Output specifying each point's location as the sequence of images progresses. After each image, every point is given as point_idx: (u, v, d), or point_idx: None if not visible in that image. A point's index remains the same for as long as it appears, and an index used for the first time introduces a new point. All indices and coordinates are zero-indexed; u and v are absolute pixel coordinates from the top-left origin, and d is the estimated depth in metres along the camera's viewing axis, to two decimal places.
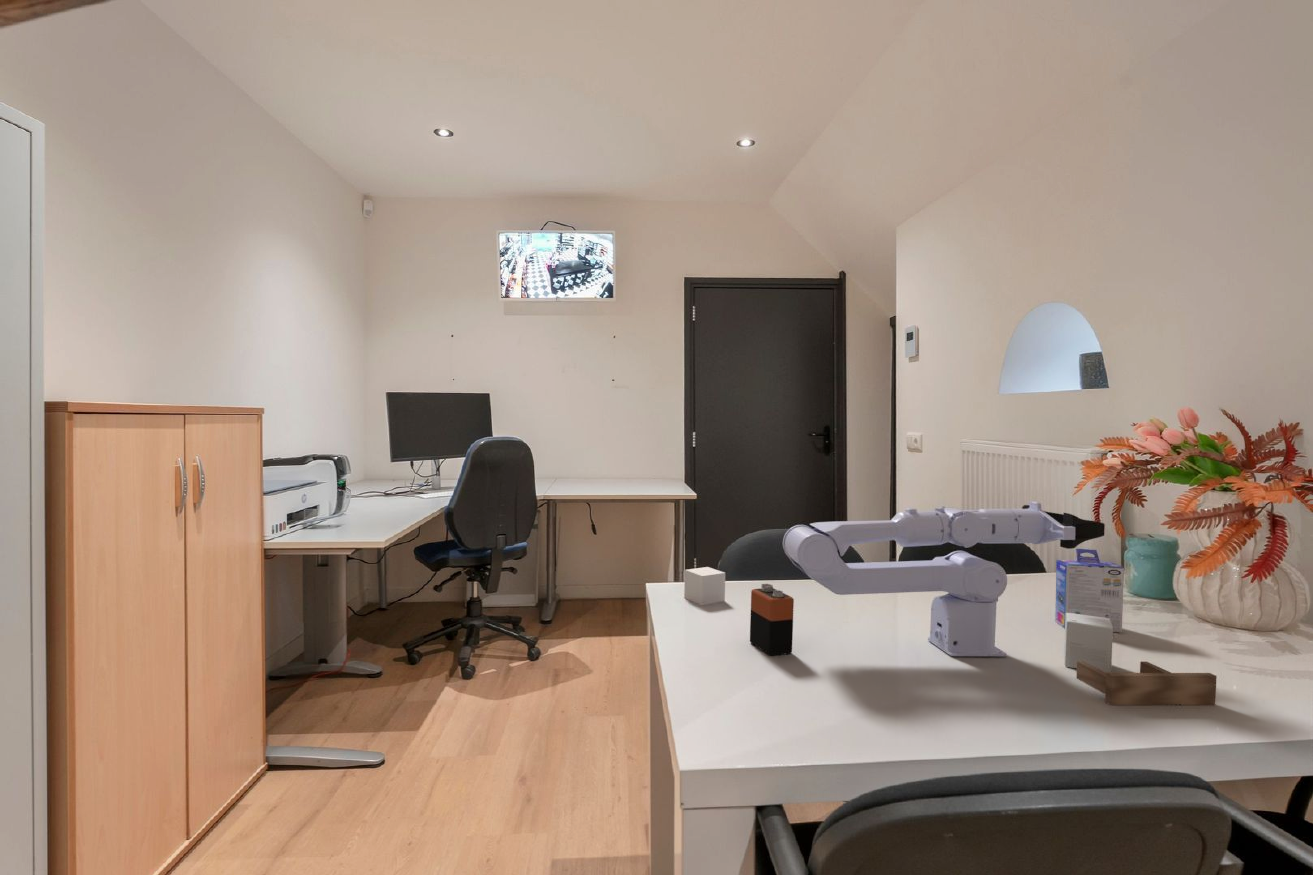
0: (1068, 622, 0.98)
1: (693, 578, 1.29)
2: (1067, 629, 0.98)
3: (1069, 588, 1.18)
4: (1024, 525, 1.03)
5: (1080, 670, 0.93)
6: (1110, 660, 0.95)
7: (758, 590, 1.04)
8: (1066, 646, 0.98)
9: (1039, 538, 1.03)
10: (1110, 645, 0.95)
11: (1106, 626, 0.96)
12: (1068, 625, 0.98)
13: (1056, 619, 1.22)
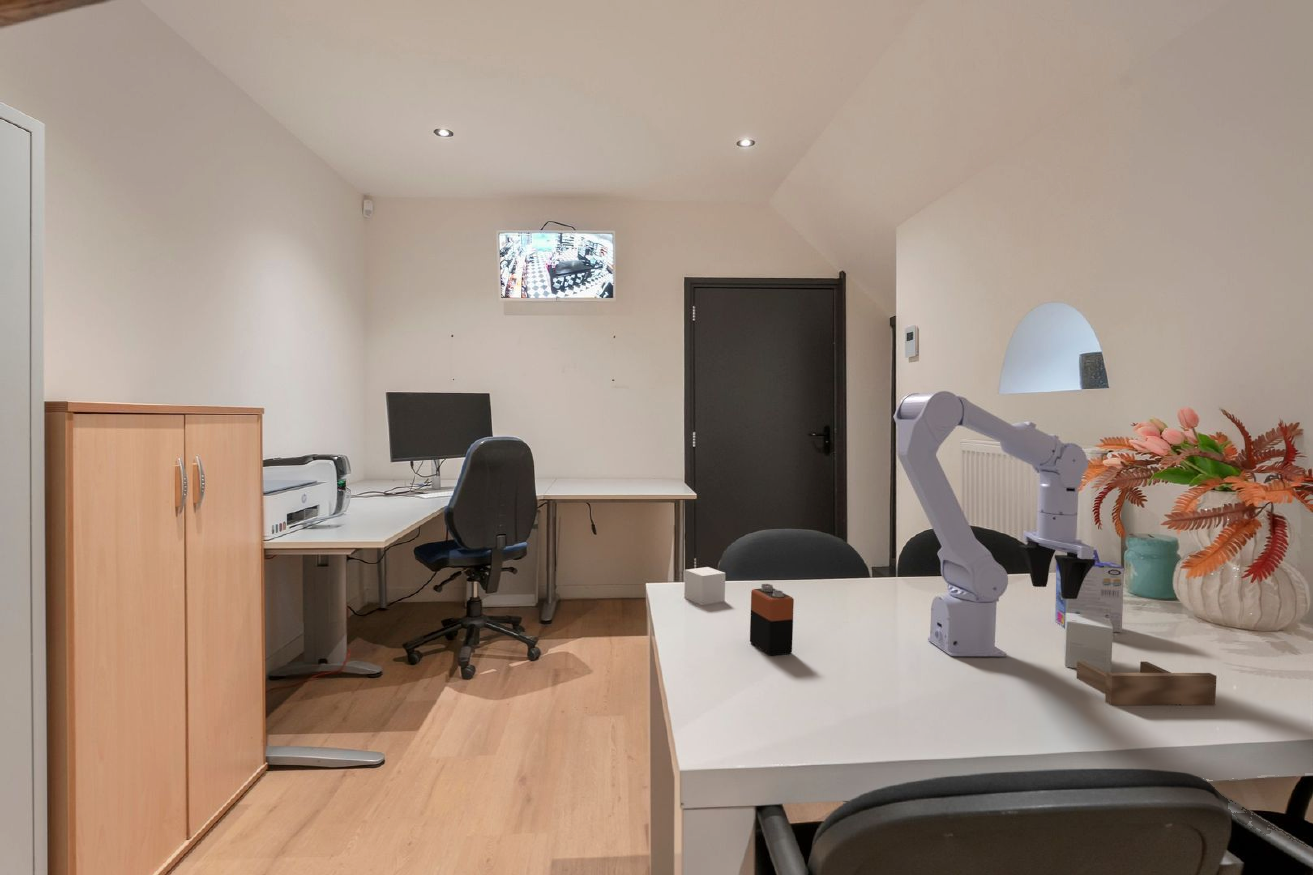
0: (1068, 622, 0.98)
1: (693, 578, 1.29)
2: (1067, 629, 0.98)
3: None
4: (1071, 521, 1.04)
5: (1080, 670, 0.93)
6: (1110, 660, 0.95)
7: (758, 590, 1.04)
8: (1066, 646, 0.98)
9: (1055, 538, 1.05)
10: (1110, 645, 0.95)
11: (1106, 626, 0.96)
12: (1068, 625, 0.98)
13: (1056, 619, 1.22)
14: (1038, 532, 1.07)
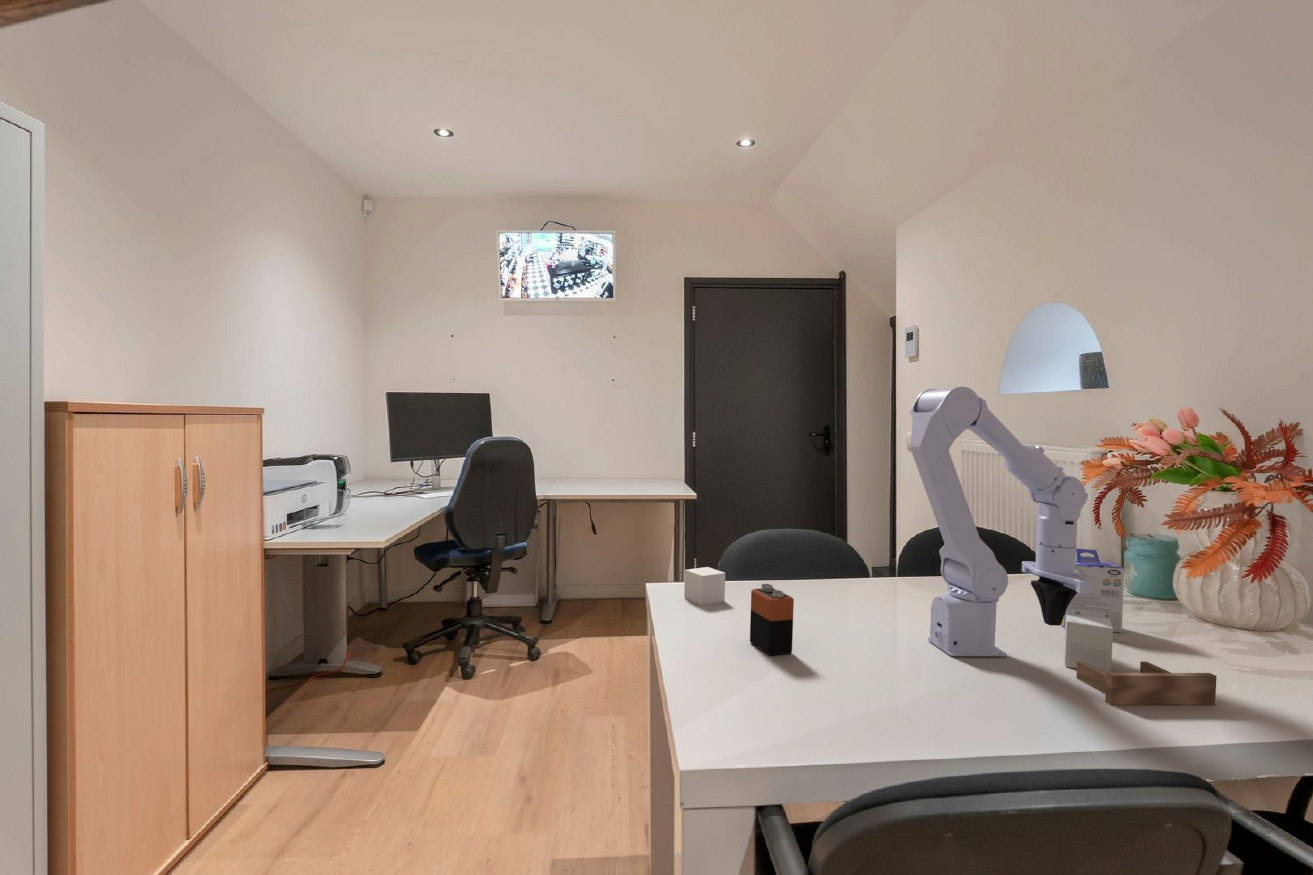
0: (1068, 622, 0.98)
1: (693, 578, 1.29)
2: (1067, 629, 0.98)
3: None
4: (1070, 554, 1.04)
5: (1080, 670, 0.93)
6: (1110, 660, 0.95)
7: (758, 590, 1.04)
8: (1066, 646, 0.98)
9: (1054, 571, 1.05)
10: (1110, 645, 0.95)
11: (1106, 626, 0.96)
12: (1068, 625, 0.98)
13: None
14: (1037, 564, 1.08)
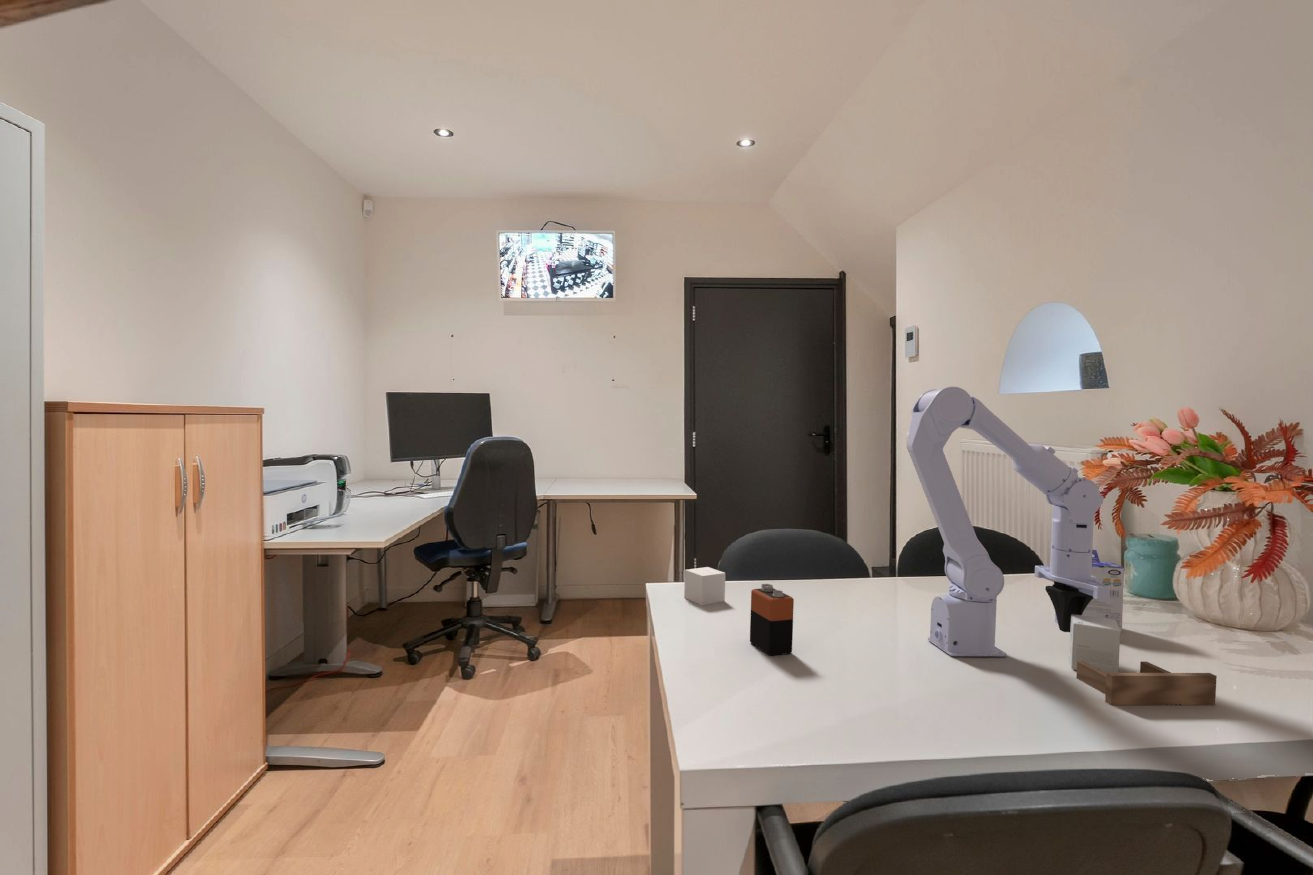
0: (1075, 624, 0.97)
1: (693, 578, 1.29)
2: (1074, 631, 0.97)
3: None
4: (1086, 558, 1.01)
5: (1080, 670, 0.93)
6: (1117, 662, 0.94)
7: (758, 590, 1.04)
8: (1073, 648, 0.97)
9: (1070, 576, 1.01)
10: (1117, 647, 0.94)
11: (1113, 628, 0.95)
12: (1075, 627, 0.97)
13: (1056, 619, 1.22)
14: (1051, 569, 1.04)
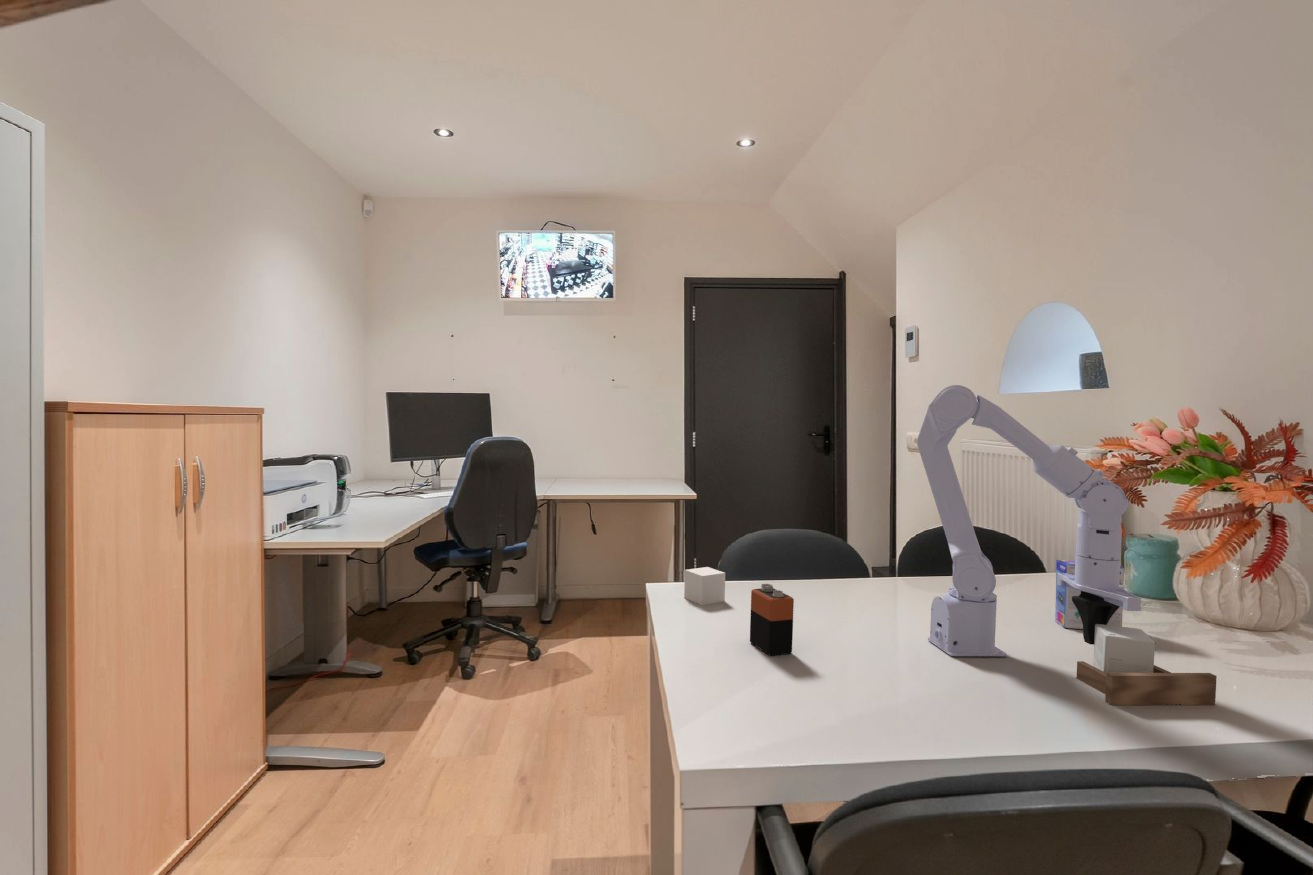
0: (1107, 636, 0.91)
1: (693, 578, 1.29)
2: (1106, 644, 0.92)
3: (1069, 588, 1.18)
4: (1114, 567, 0.95)
5: (1080, 670, 0.93)
6: None
7: (758, 590, 1.04)
8: (1105, 662, 0.92)
9: (1097, 585, 0.95)
10: (1152, 660, 0.89)
11: (1147, 639, 0.90)
12: (1107, 640, 0.91)
13: (1056, 619, 1.22)
14: (1076, 577, 0.98)
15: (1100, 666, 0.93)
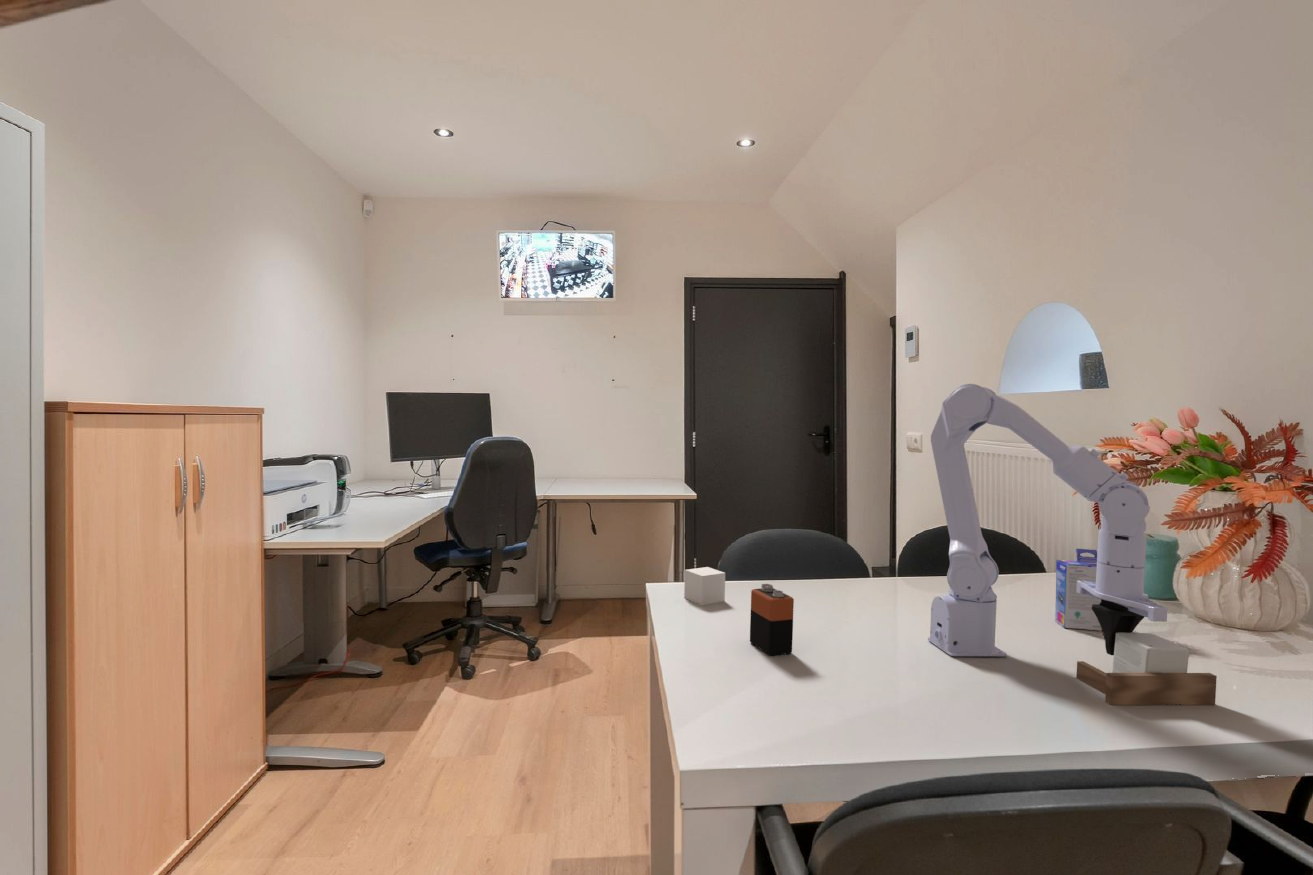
0: (1149, 649, 0.86)
1: (693, 578, 1.29)
2: (1148, 657, 0.86)
3: (1069, 588, 1.18)
4: (1139, 575, 0.91)
5: (1080, 670, 0.93)
6: None
7: (758, 590, 1.04)
8: None
9: (1120, 594, 0.91)
10: (1186, 668, 0.87)
11: (1180, 648, 0.87)
12: (1149, 653, 0.86)
13: (1056, 619, 1.22)
14: (1098, 585, 0.94)
15: None
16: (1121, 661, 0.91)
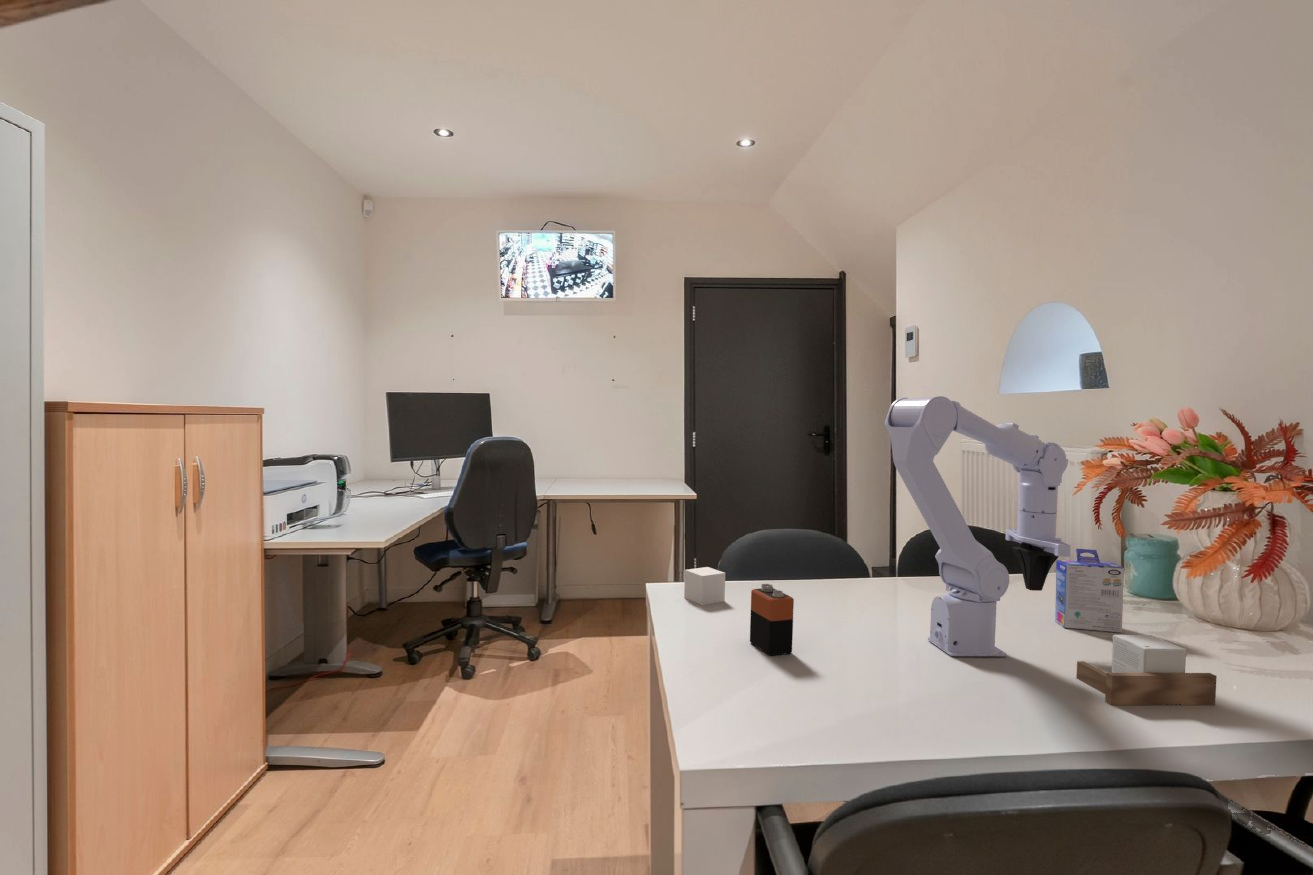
0: (1146, 650, 0.87)
1: (693, 578, 1.29)
2: (1145, 658, 0.87)
3: (1069, 588, 1.18)
4: (1050, 519, 1.06)
5: (1080, 670, 0.93)
6: None
7: (758, 590, 1.04)
8: None
9: (1034, 536, 1.06)
10: (1184, 668, 0.87)
11: (1177, 647, 0.87)
12: (1147, 653, 0.87)
13: (1056, 619, 1.22)
14: (1018, 530, 1.09)
15: None
16: (1119, 663, 0.91)
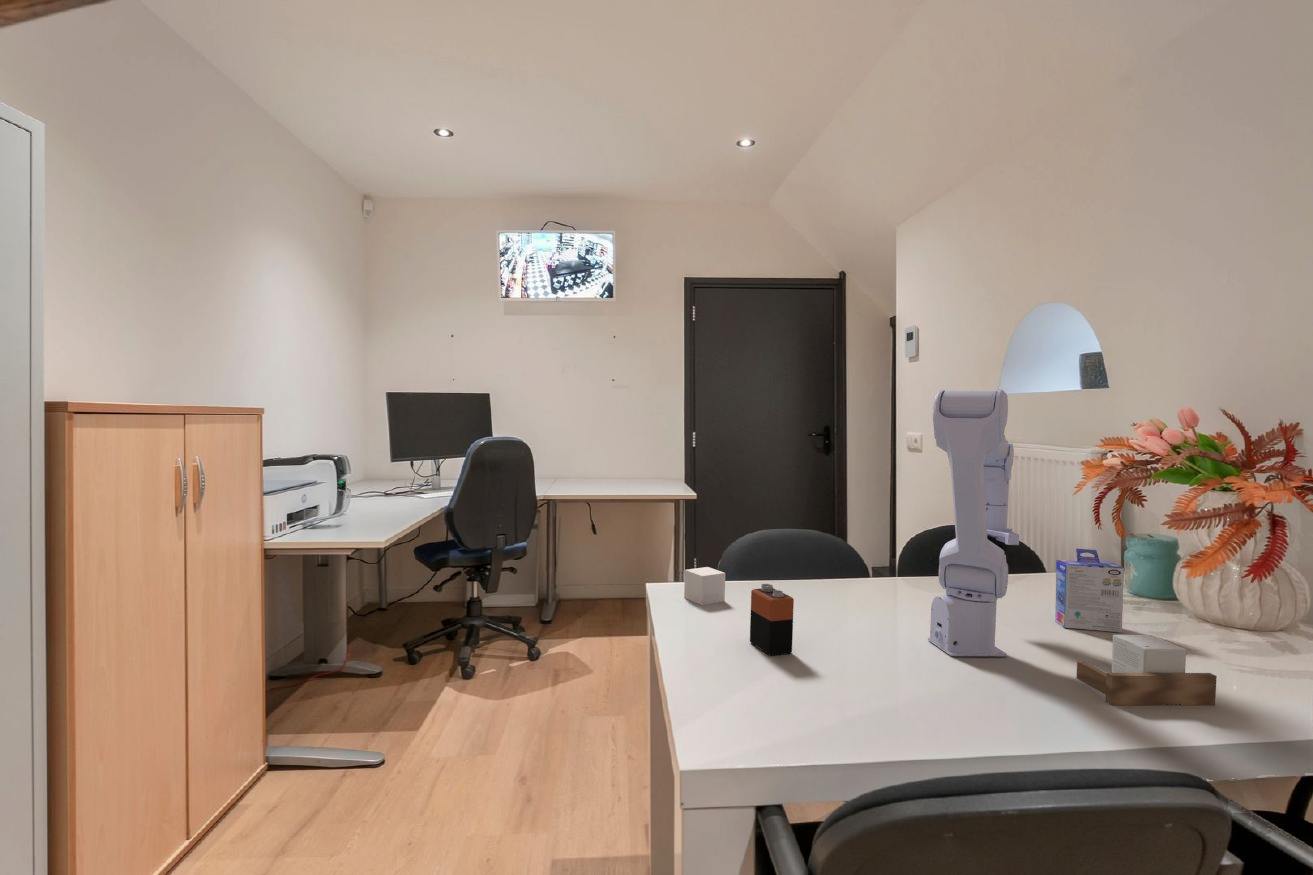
0: (1146, 650, 0.87)
1: (693, 578, 1.29)
2: (1145, 658, 0.87)
3: (1069, 588, 1.18)
4: (1002, 511, 1.15)
5: (1080, 670, 0.93)
6: None
7: (758, 590, 1.04)
8: None
9: (988, 526, 1.15)
10: (1184, 668, 0.87)
11: (1177, 647, 0.87)
12: (1147, 653, 0.87)
13: (1056, 619, 1.22)
14: None
15: None
16: (1119, 663, 0.91)
